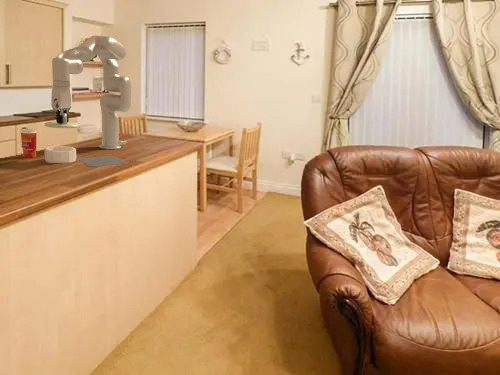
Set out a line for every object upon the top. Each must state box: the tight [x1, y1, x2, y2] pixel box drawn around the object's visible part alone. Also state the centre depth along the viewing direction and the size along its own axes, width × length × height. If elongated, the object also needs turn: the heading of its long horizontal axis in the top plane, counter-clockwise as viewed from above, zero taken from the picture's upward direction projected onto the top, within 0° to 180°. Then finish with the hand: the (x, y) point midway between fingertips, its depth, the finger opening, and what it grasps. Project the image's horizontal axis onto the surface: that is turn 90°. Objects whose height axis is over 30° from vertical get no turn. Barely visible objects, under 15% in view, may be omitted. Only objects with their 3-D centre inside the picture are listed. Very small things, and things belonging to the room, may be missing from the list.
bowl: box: [43, 145, 77, 164], centre depth 215 cm, size 14×14×6 cm
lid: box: [44, 112, 81, 129], centre depth 211 cm, size 16×16×6 cm
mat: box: [76, 155, 130, 168], centre depth 221 cm, size 20×20×1 cm
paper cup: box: [19, 128, 38, 159], centre depth 217 cm, size 8×8×14 cm
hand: (62, 122), depth 212 cm, fingers closed on lid, 4 cm apart
